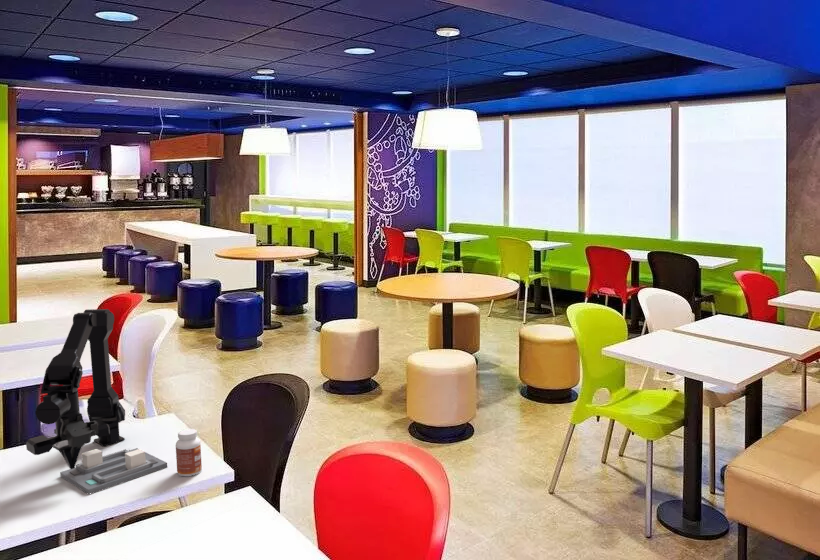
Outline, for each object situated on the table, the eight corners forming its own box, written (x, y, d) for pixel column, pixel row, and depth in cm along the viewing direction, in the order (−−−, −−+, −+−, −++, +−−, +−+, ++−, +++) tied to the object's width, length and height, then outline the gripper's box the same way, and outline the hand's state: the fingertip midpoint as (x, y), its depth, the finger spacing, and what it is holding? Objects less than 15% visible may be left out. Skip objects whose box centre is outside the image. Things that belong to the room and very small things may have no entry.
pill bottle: (199, 476, 178) (197, 435, 177) (175, 478, 178) (172, 436, 176) (203, 466, 184) (201, 426, 183) (179, 468, 184) (177, 428, 182)
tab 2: (125, 468, 181) (124, 453, 180) (140, 463, 184) (139, 448, 183) (131, 471, 179) (130, 456, 178) (146, 466, 182) (145, 451, 181)
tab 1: (82, 467, 181) (81, 453, 181) (97, 463, 184) (96, 448, 184) (87, 470, 179) (86, 456, 179) (103, 465, 182) (101, 451, 182)
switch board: (60, 476, 179) (59, 468, 179) (137, 452, 195) (136, 444, 194) (88, 494, 169) (88, 485, 168) (167, 467, 184) (166, 459, 184)
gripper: (41, 427, 163) (47, 490, 165) (117, 407, 177) (122, 465, 179) (22, 417, 170) (28, 477, 173) (97, 398, 184) (102, 454, 187)
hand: (71, 468), depth 178 cm, fingers closed
